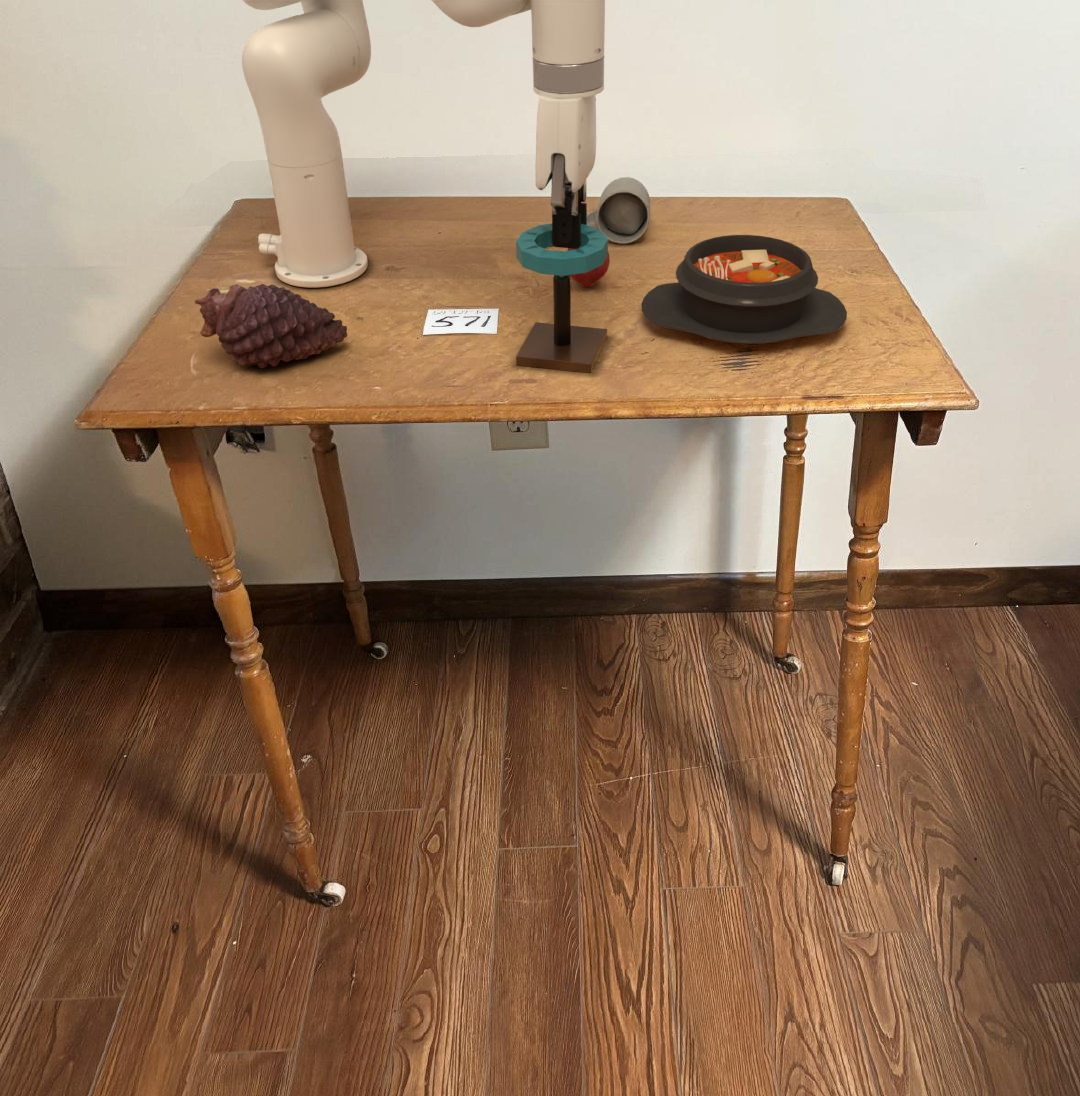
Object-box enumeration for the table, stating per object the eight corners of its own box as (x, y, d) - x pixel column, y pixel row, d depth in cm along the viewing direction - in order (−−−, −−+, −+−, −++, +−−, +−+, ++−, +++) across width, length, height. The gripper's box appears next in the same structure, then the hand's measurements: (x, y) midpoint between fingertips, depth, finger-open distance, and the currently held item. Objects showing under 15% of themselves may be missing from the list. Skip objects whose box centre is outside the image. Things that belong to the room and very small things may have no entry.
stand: (516, 365, 129) (513, 284, 123) (535, 330, 136) (533, 252, 130) (591, 373, 127) (591, 291, 121) (606, 337, 134) (608, 258, 128)
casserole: (635, 353, 131) (638, 287, 125) (645, 286, 145) (647, 224, 140) (850, 363, 128) (862, 296, 122) (838, 293, 142) (848, 231, 137)
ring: (507, 271, 122) (506, 254, 120) (530, 236, 129) (530, 219, 128) (595, 279, 119) (596, 261, 118) (614, 243, 127) (614, 226, 126)
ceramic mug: (649, 222, 162) (651, 170, 157) (649, 244, 156) (650, 191, 151) (578, 222, 163) (577, 171, 158) (574, 245, 156) (573, 191, 152)
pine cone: (344, 326, 138) (355, 279, 129) (339, 394, 134) (351, 351, 125) (197, 303, 133) (198, 253, 124) (188, 374, 129) (188, 327, 120)
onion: (605, 298, 143) (606, 239, 138) (561, 295, 144) (560, 236, 139) (611, 279, 147) (613, 221, 142) (569, 276, 148) (569, 218, 143)
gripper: (552, 53, 123) (554, 213, 134) (513, 95, 110) (520, 267, 122) (618, 56, 121) (615, 218, 132) (586, 98, 109) (586, 273, 120)
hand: (569, 240), depth 127 cm, fingers closed on ring, 2 cm apart
